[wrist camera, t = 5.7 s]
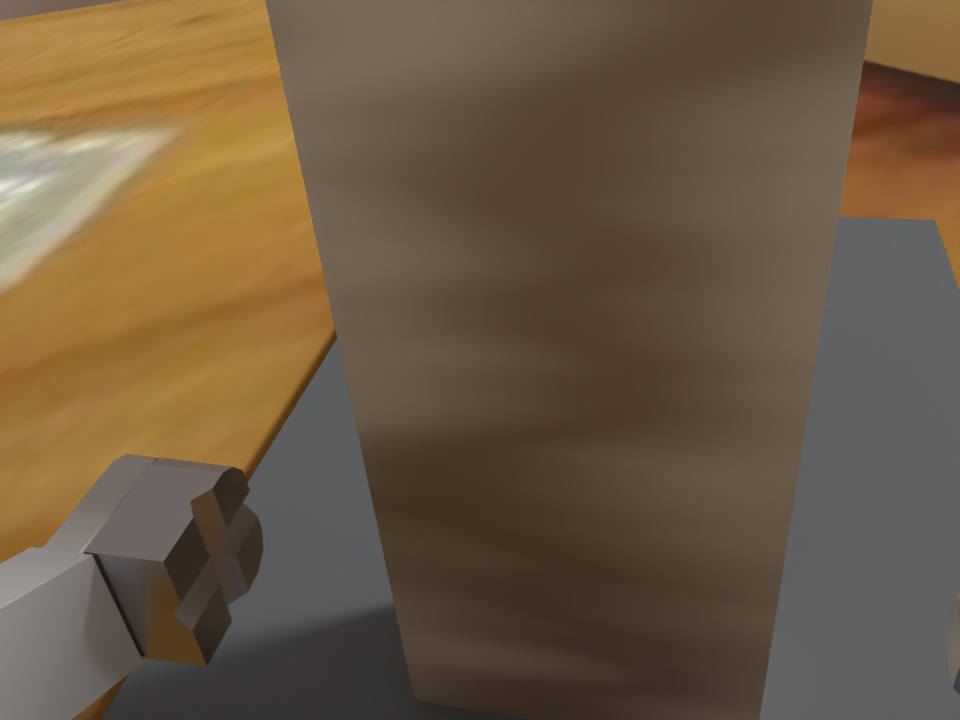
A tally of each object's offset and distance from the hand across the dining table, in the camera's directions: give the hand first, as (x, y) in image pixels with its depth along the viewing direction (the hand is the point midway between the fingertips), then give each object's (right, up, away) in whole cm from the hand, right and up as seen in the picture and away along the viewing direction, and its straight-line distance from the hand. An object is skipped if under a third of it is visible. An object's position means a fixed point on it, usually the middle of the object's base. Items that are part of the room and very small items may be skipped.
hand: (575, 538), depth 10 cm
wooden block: (+1, -3, +5) cm, 6 cm away
